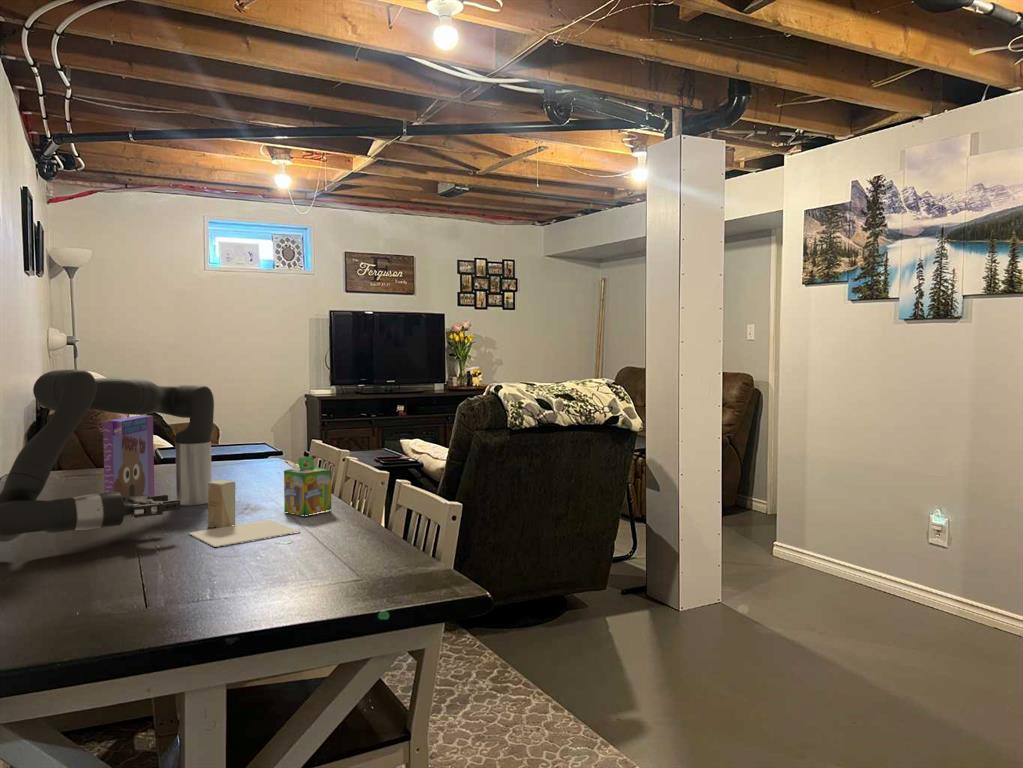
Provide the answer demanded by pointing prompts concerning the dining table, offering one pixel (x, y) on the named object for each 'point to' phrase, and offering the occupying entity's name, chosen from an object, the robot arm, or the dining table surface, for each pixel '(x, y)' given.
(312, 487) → the chalk box
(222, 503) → the box
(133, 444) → the cereal box
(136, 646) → the dining table surface
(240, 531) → the mat
